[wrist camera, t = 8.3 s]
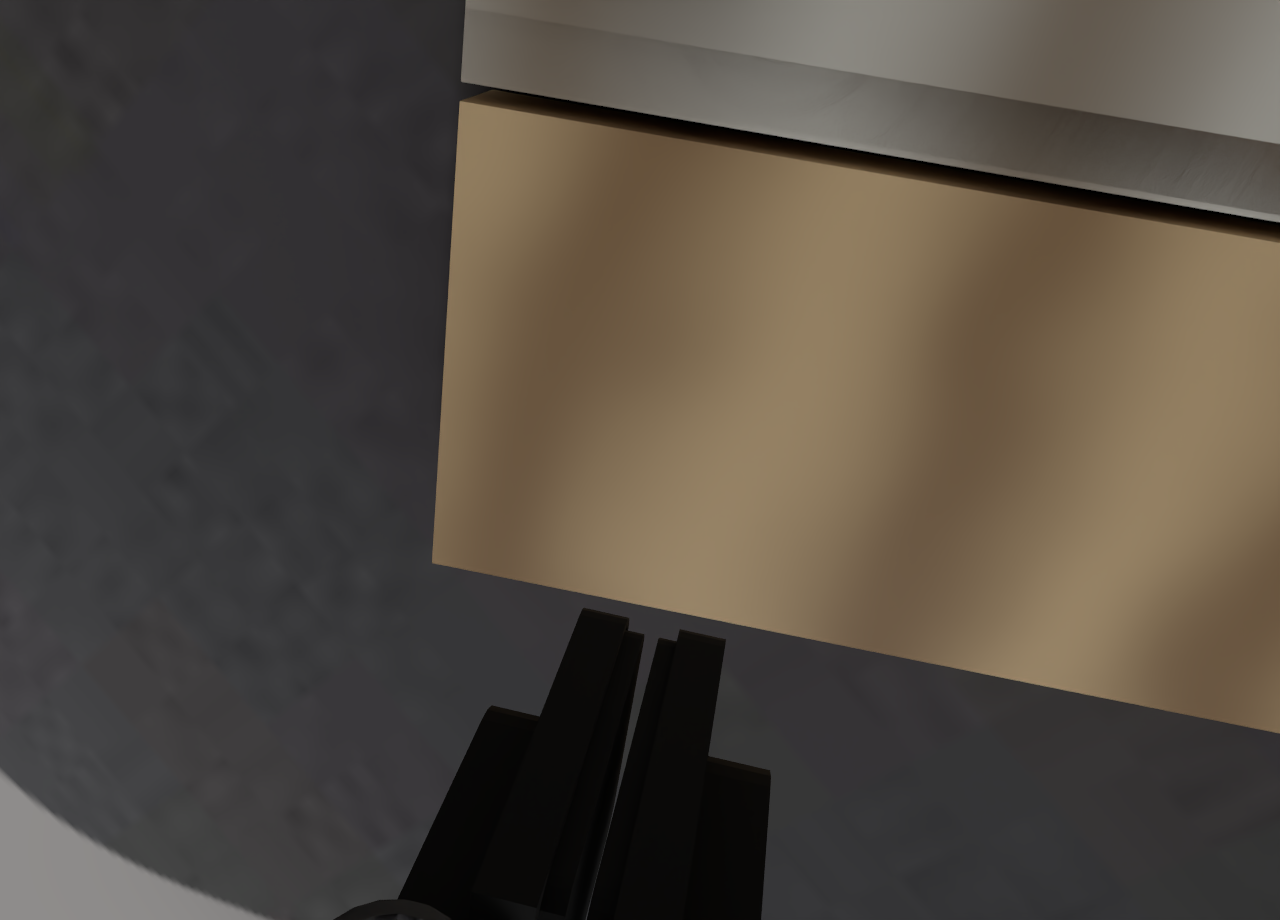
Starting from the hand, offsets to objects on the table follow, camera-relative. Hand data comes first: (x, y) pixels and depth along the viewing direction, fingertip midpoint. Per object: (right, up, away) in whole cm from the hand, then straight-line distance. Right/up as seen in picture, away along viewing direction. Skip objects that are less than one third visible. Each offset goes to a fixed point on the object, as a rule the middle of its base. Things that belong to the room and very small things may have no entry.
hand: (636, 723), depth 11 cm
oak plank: (+6, +4, +8) cm, 11 cm away
